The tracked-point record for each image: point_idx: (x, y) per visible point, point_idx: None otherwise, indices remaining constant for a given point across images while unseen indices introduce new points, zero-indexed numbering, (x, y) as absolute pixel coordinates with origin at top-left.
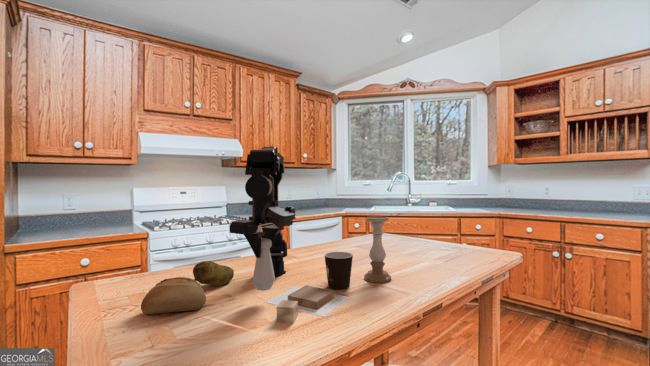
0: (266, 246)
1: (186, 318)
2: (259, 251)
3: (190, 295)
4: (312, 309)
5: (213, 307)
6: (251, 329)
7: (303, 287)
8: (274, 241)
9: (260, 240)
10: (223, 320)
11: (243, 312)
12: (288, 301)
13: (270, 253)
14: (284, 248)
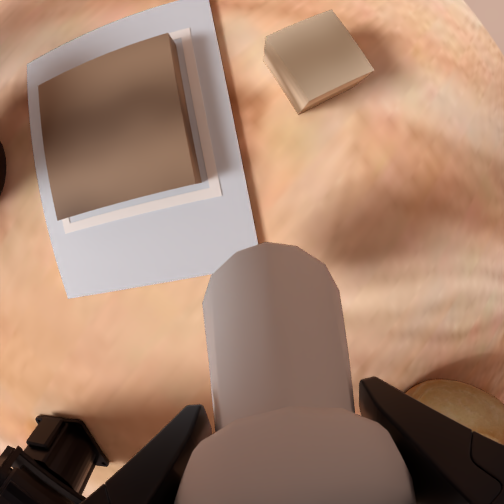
0: (348, 427)
1: (468, 349)
2: (408, 404)
3: (473, 399)
4: (186, 55)
5: (390, 371)
6: (429, 130)
7: (80, 208)
8: (110, 488)
9: (490, 488)
10: (439, 260)
11: (368, 263)
12: (300, 64)
13: (197, 405)
14: (3, 466)
